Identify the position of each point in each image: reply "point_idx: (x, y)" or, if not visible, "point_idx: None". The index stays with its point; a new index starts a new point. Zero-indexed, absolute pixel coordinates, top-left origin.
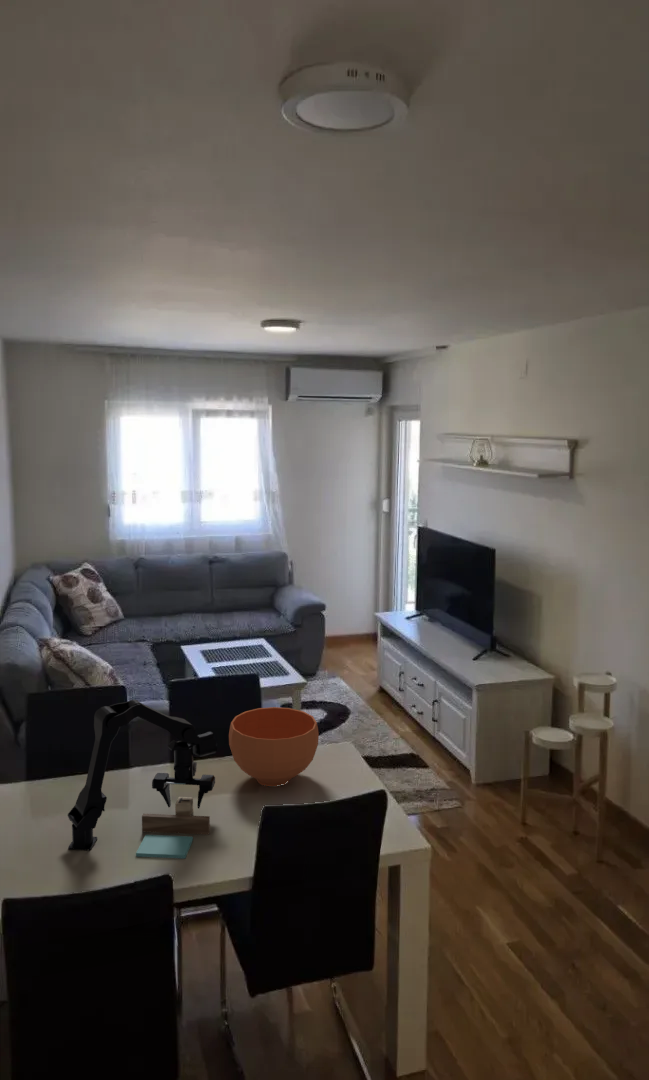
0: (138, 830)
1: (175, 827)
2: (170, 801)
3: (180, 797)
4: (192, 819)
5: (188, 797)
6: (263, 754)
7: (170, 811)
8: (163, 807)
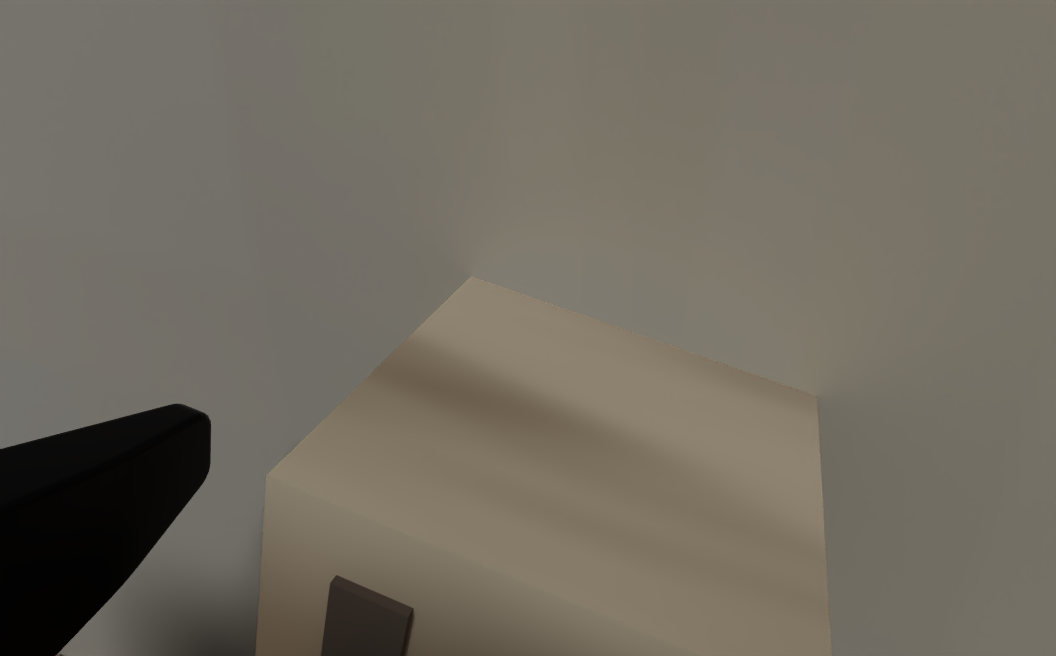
0: None
1: None
2: (114, 488)
3: (333, 535)
4: None
5: (638, 641)
6: None
7: (301, 293)
8: (126, 71)
